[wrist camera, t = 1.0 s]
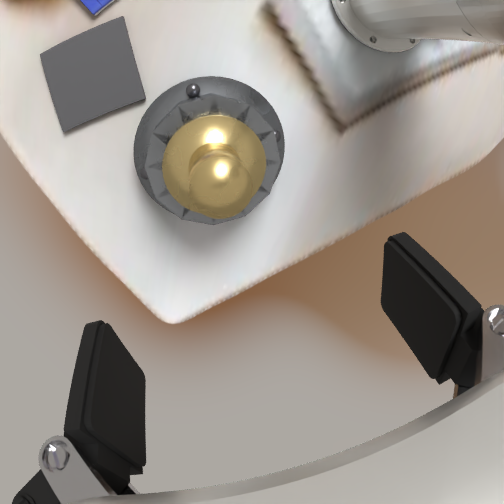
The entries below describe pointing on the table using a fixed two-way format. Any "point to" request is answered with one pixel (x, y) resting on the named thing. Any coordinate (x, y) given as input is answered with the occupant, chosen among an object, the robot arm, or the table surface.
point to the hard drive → (96, 5)
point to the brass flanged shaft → (214, 165)
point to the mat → (92, 74)
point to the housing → (195, 105)
